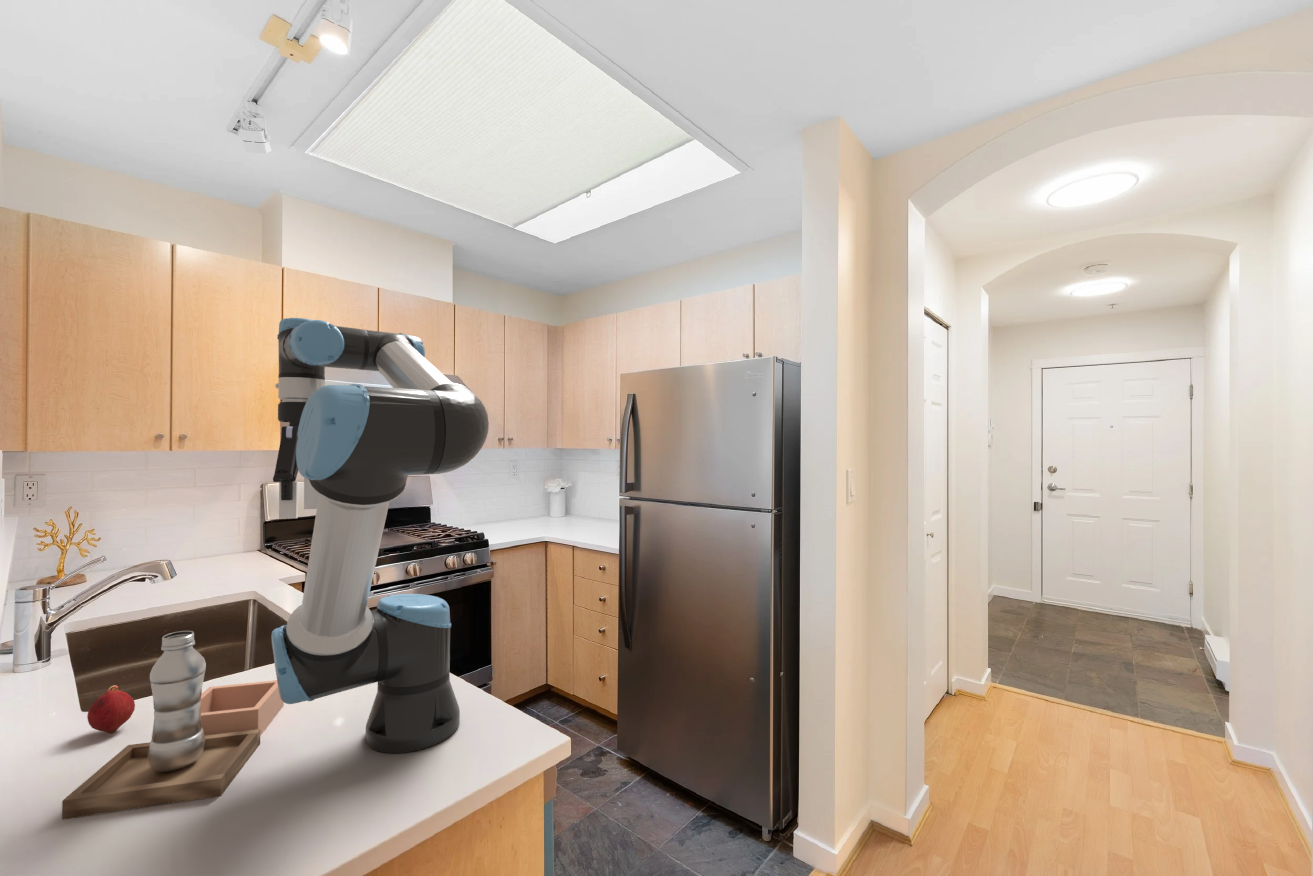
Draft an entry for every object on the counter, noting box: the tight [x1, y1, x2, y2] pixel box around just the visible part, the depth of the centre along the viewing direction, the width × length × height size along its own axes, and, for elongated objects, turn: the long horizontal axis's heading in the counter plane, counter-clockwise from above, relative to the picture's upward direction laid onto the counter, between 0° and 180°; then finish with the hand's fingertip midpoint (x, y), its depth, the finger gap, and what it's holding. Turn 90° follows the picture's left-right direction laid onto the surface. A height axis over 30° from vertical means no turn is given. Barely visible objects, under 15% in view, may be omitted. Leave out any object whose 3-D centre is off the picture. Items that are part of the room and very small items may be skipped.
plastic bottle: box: [148, 630, 207, 772], centre depth 85 cm, size 6×7×20 cm
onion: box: [86, 684, 136, 734], centre depth 96 cm, size 6×6×8 cm
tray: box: [61, 729, 261, 820], centre depth 84 cm, size 18×14×2 cm
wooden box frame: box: [200, 679, 285, 737], centre depth 99 cm, size 12×12×5 cm
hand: (301, 513), depth 106 cm, fingers open, 13 cm apart
